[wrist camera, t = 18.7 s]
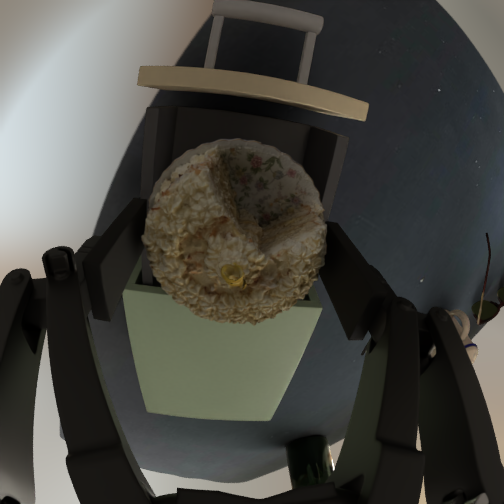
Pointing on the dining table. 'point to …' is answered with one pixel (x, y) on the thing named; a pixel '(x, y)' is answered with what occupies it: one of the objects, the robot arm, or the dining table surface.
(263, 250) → the cake
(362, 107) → the pull-out drawer
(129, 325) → the green drawer box
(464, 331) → the teacup with lid
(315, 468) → the green wine bottle
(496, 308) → the sunglasses
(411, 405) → the robot arm
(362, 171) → the dining table surface
